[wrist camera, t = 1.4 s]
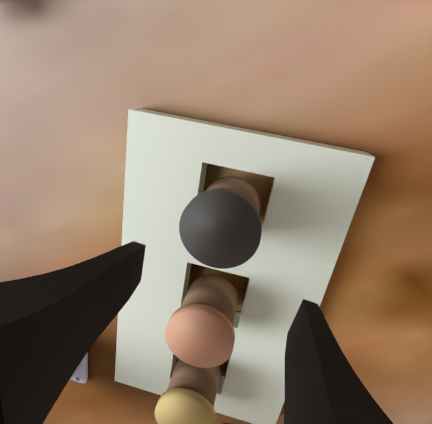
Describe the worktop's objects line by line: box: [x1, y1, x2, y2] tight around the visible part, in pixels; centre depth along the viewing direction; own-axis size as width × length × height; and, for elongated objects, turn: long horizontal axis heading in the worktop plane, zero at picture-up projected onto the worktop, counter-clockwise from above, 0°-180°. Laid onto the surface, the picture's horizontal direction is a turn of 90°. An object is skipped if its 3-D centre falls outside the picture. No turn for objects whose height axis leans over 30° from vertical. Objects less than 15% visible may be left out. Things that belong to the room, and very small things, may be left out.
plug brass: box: [155, 359, 221, 424], centre depth 25 cm, size 5×5×5 cm
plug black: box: [179, 176, 262, 269], centre depth 19 cm, size 5×5×5 cm
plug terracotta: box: [165, 275, 238, 368], centre depth 22 cm, size 5×5×5 cm
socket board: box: [115, 108, 375, 424], centre depth 25 cm, size 16×26×2 cm, turn 170°
